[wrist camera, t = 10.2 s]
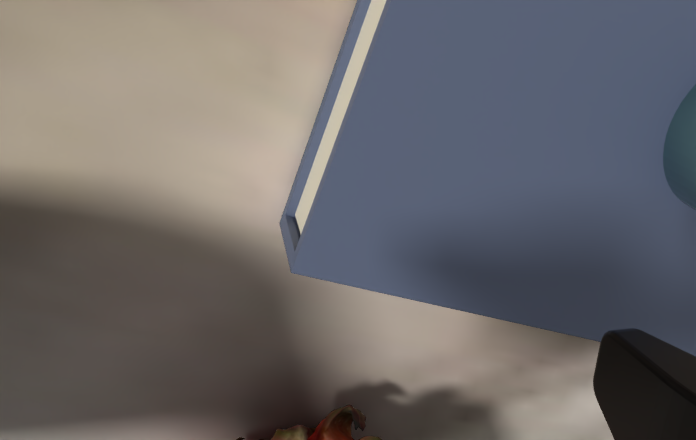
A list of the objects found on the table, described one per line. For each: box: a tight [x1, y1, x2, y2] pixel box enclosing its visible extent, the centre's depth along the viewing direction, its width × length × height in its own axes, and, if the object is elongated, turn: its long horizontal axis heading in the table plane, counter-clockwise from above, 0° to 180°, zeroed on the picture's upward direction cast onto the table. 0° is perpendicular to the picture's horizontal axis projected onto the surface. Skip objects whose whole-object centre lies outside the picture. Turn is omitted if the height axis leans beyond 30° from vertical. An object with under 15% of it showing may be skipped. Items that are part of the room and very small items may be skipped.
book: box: [280, 0, 696, 356], centre depth 20 cm, size 12×16×3 cm
